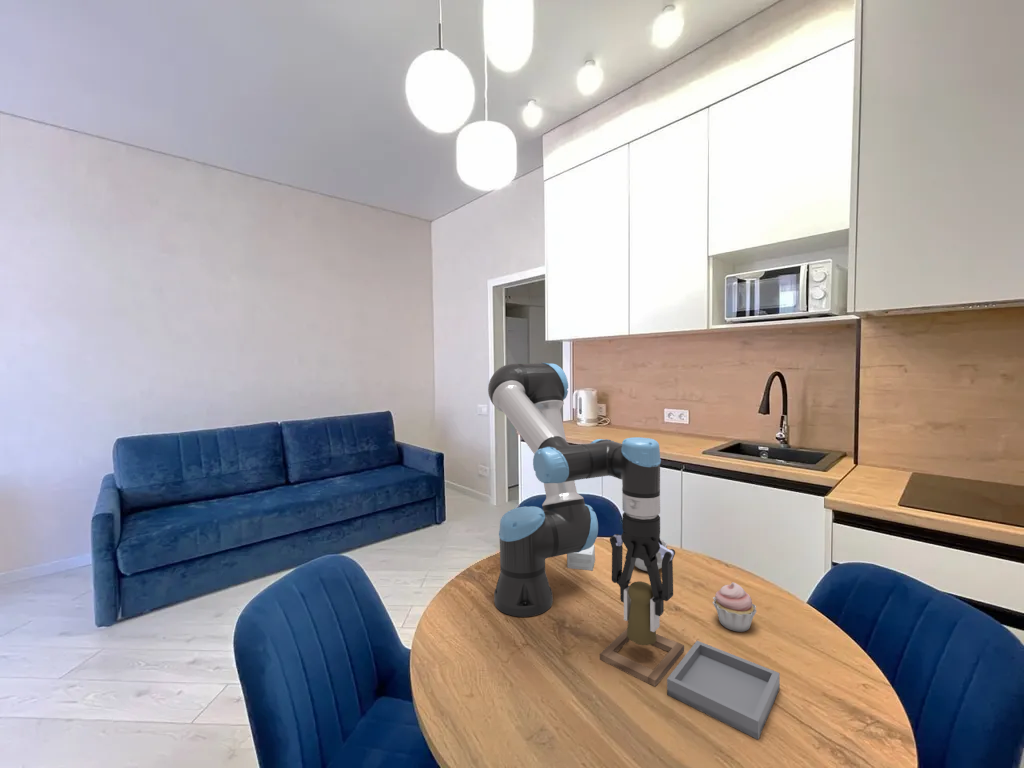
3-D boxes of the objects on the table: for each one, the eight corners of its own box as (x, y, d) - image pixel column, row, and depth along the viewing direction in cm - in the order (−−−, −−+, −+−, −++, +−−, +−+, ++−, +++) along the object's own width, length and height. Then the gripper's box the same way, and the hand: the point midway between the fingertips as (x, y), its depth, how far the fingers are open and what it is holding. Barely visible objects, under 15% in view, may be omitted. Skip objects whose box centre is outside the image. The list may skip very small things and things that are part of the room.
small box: (595, 560, 138) (595, 544, 138) (592, 571, 131) (592, 554, 131) (570, 557, 141) (570, 541, 140) (566, 568, 133) (566, 551, 133)
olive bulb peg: (658, 646, 89) (658, 593, 88) (627, 643, 90) (627, 590, 89) (654, 629, 95) (654, 578, 94) (625, 626, 96) (625, 576, 95)
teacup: (624, 560, 137) (624, 535, 137) (657, 558, 139) (657, 533, 138) (642, 582, 124) (642, 553, 123) (679, 579, 125) (679, 551, 124)
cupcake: (707, 611, 108) (707, 571, 108) (749, 615, 106) (749, 574, 106) (717, 634, 99) (717, 590, 99) (763, 638, 97) (763, 594, 97)
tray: (667, 694, 81) (667, 678, 81) (697, 654, 92) (697, 640, 92) (758, 739, 71) (758, 721, 71) (779, 688, 82) (779, 672, 82)
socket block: (599, 659, 91) (599, 653, 91) (631, 629, 101) (631, 623, 101) (655, 686, 83) (655, 680, 83) (684, 650, 93) (684, 645, 93)
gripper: (593, 508, 95) (594, 614, 96) (677, 529, 82) (677, 650, 83) (611, 500, 100) (611, 600, 101) (692, 518, 88) (692, 632, 89)
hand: (641, 622), depth 92 cm, fingers closed on olive bulb peg, 5 cm apart
